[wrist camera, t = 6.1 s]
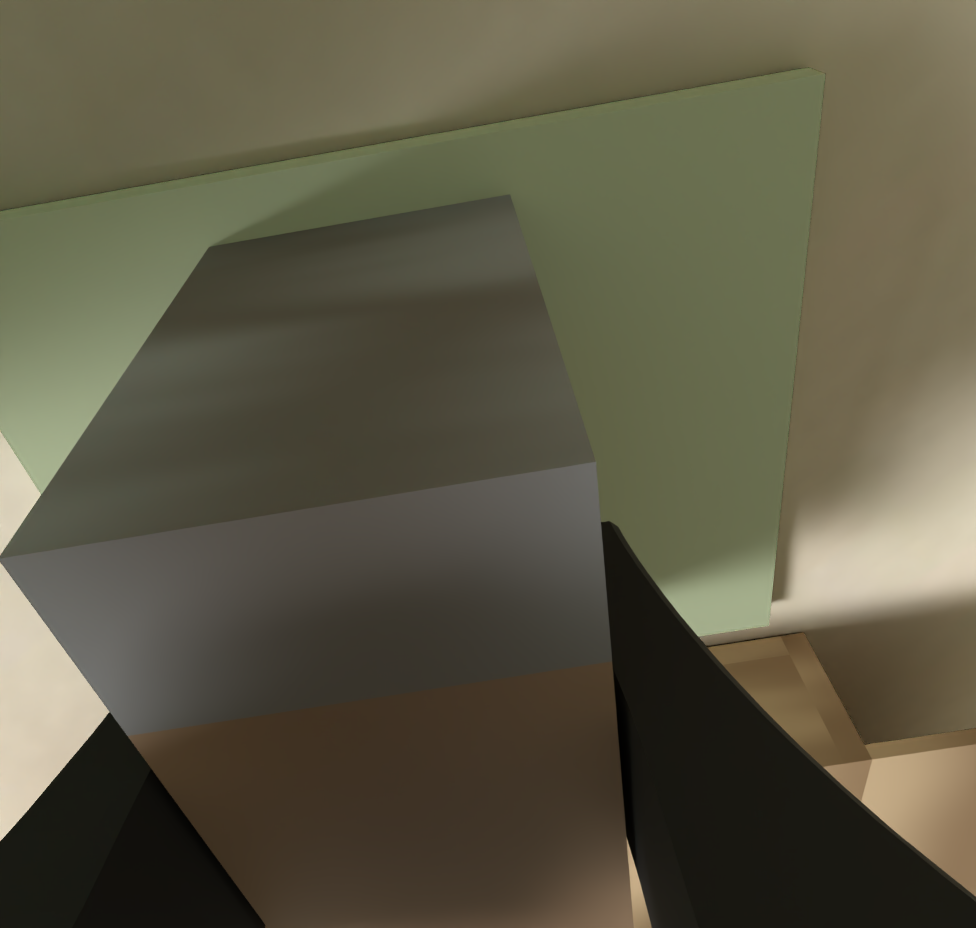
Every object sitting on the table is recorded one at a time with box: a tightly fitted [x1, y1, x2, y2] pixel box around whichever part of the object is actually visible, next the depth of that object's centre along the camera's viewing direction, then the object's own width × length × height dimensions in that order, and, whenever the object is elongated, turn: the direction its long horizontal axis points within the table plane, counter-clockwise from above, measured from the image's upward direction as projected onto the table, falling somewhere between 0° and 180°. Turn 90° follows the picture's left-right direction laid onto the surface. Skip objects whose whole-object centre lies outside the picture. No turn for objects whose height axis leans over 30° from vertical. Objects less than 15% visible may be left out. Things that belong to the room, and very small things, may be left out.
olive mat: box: [0, 67, 825, 637], centre depth 12 cm, size 12×10×1 cm
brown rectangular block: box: [0, 194, 634, 928], centre depth 10 cm, size 4×8×6 cm, turn 9°
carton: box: [265, 633, 976, 928], centre depth 19 cm, size 21×14×3 cm, turn 99°
